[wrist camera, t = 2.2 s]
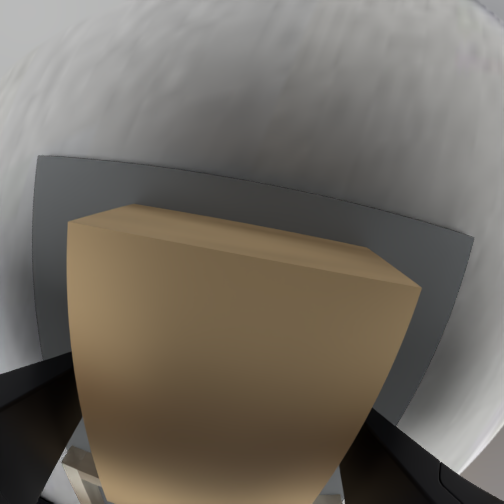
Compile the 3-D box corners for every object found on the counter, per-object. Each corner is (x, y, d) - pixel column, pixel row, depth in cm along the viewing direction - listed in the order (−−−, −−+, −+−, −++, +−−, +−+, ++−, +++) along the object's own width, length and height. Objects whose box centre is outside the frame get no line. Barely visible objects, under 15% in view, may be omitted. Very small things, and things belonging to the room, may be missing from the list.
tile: (284, 471, 10) (288, 533, 7) (131, 443, 10) (106, 500, 7) (367, 247, 8) (421, 287, 5) (133, 203, 7) (68, 221, 4)
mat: (288, 551, 13) (288, 557, 13) (100, 517, 13) (98, 522, 12) (465, 234, 8) (474, 237, 7) (47, 155, 8) (38, 155, 7)
